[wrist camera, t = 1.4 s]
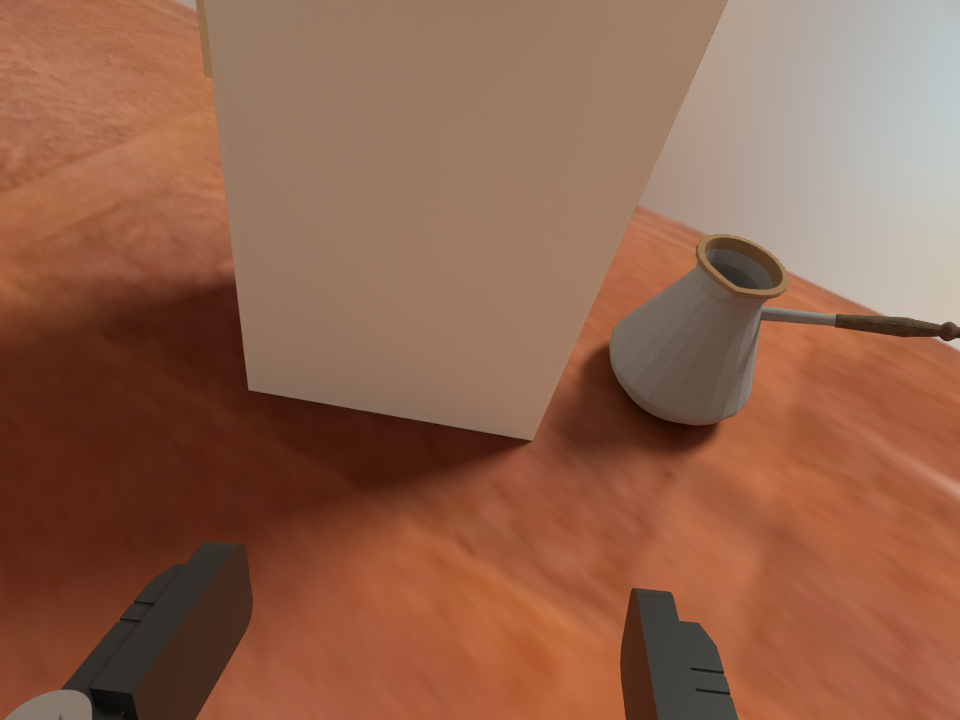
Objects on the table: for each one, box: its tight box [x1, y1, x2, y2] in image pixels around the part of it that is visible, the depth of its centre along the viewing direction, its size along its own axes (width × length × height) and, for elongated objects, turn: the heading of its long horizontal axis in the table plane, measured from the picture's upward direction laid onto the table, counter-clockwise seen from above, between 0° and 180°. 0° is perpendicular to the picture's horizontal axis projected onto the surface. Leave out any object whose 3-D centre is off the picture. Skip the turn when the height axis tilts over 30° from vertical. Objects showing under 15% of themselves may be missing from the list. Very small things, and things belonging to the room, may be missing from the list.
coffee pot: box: [609, 234, 960, 425], centre depth 45 cm, size 21×12×15 cm, turn 65°
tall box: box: [196, 0, 728, 441], centre depth 37 cm, size 14×20×32 cm
